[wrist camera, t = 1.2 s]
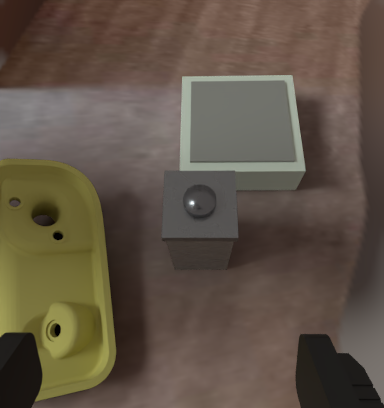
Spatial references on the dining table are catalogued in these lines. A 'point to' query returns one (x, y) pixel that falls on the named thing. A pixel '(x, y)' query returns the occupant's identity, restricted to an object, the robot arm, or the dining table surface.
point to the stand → (243, 130)
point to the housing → (200, 218)
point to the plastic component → (56, 273)
